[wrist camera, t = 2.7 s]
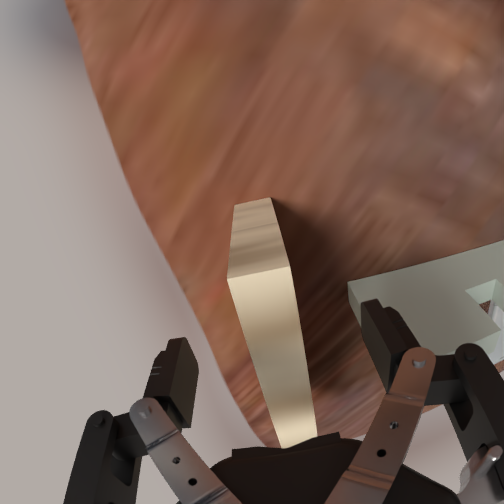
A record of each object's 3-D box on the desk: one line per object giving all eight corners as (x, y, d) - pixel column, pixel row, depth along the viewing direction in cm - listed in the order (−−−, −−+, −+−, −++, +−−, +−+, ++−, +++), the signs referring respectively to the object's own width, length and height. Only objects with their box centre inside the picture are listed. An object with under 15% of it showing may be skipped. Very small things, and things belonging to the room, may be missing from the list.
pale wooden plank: (304, 376, 29) (320, 463, 20) (279, 381, 29) (289, 469, 20) (270, 197, 21) (289, 266, 12) (234, 205, 21) (226, 279, 12)
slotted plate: (348, 301, 25) (390, 392, 16) (347, 281, 24) (393, 372, 15) (516, 252, 23) (576, 302, 14) (518, 235, 23) (582, 282, 14)
